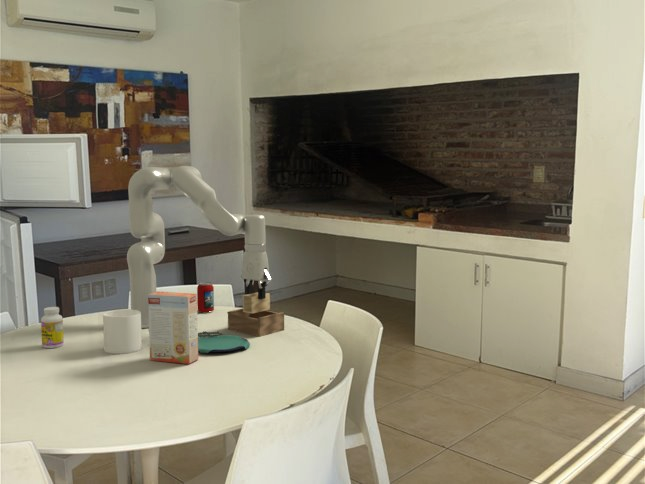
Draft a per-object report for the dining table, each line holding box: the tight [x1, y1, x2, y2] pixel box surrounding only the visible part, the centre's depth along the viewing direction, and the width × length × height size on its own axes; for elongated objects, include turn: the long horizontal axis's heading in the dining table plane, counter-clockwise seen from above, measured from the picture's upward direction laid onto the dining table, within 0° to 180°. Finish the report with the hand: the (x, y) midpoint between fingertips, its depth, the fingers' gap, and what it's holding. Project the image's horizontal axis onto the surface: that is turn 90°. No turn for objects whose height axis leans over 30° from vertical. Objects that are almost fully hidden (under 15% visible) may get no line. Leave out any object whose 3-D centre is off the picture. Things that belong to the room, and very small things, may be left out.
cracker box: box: [148, 291, 199, 365], centre depth 191 cm, size 14×6×21 cm, turn 71°
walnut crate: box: [227, 307, 286, 337], centre depth 229 cm, size 13×17×7 cm
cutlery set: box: [198, 331, 251, 354], centre depth 211 cm, size 20×30×2 cm, turn 28°
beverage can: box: [196, 281, 215, 313], centre depth 259 cm, size 7×7×12 cm
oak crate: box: [242, 292, 271, 314], centre depth 229 cm, size 9×5×6 cm, turn 140°
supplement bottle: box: [40, 306, 64, 349], centre depth 207 cm, size 7×7×13 cm
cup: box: [102, 308, 143, 355], centre depth 203 cm, size 12×12×12 cm
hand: (256, 297), depth 228 cm, fingers closed on oak crate, 5 cm apart
